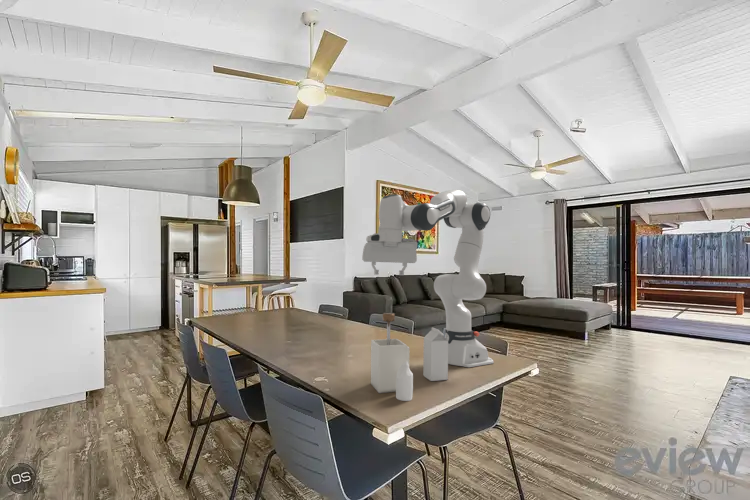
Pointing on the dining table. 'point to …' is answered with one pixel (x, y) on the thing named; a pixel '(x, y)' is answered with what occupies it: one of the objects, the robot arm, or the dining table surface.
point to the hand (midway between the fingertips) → (388, 274)
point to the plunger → (388, 323)
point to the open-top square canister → (387, 363)
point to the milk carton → (435, 356)
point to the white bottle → (404, 383)
